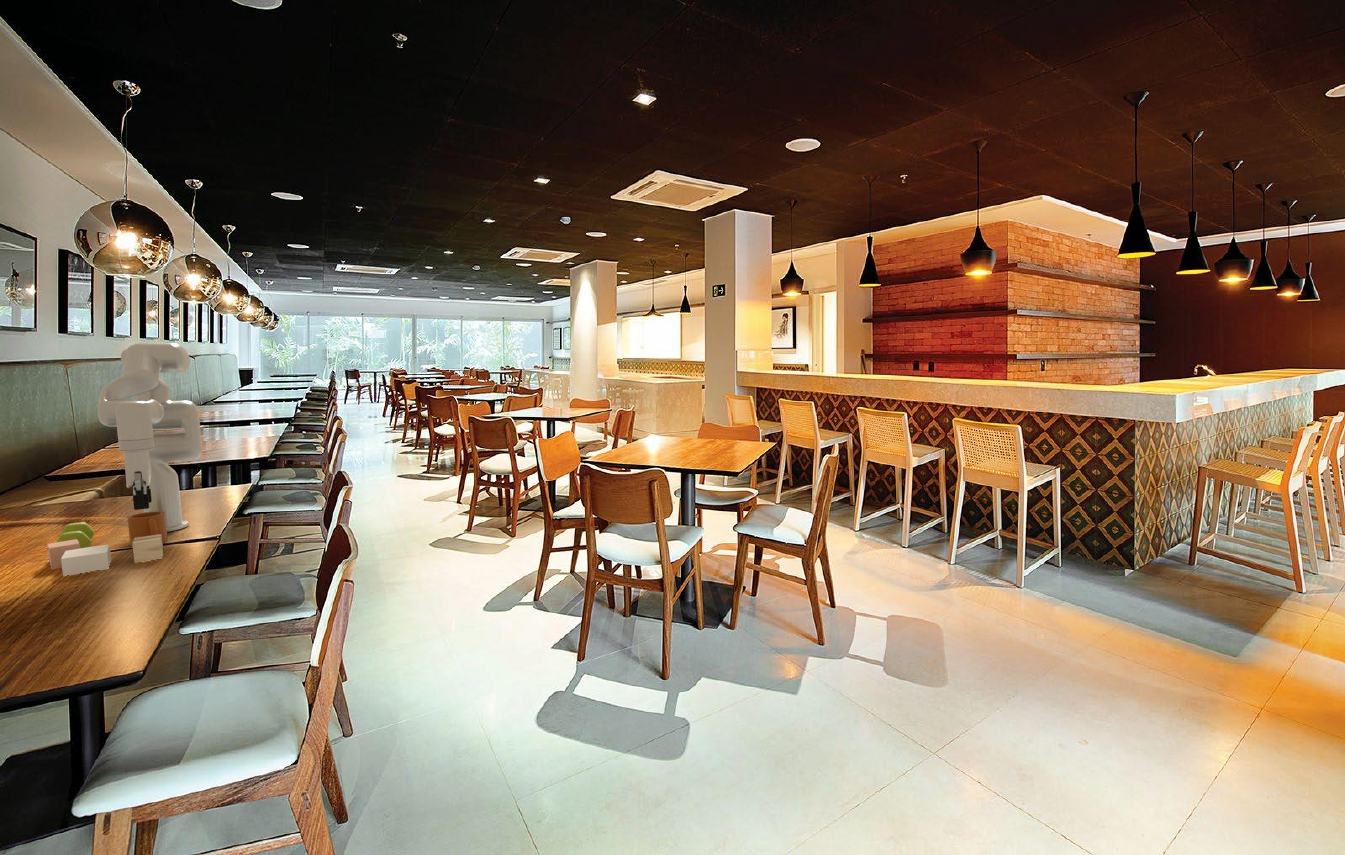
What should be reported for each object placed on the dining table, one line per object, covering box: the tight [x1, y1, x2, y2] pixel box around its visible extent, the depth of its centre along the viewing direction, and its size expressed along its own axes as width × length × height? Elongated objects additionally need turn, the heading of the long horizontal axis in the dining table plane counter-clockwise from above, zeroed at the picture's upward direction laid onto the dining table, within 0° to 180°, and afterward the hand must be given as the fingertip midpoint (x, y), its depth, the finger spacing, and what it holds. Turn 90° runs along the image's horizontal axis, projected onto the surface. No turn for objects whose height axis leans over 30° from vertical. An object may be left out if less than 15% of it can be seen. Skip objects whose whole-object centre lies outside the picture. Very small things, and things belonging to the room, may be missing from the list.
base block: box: [61, 543, 112, 577], centre depth 173 cm, size 9×9×5 cm
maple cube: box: [132, 534, 164, 564], centre depth 181 cm, size 6×6×6 cm
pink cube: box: [46, 539, 80, 570], centre depth 176 cm, size 6×6×6 cm
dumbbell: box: [55, 521, 96, 548], centre depth 188 cm, size 16×8×7 cm, turn 38°
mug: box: [126, 511, 168, 548], centre depth 194 cm, size 9×12×9 cm
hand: (143, 506), depth 179 cm, fingers open, 9 cm apart
